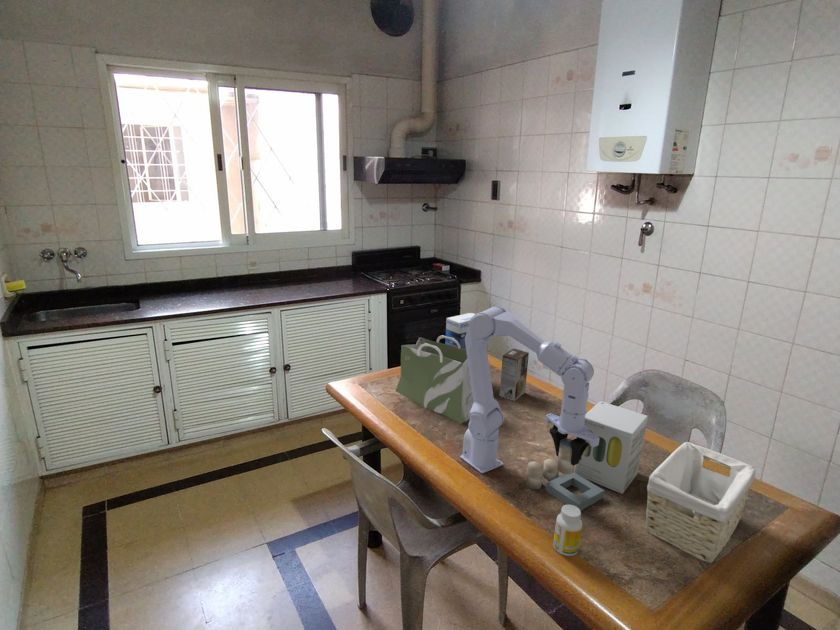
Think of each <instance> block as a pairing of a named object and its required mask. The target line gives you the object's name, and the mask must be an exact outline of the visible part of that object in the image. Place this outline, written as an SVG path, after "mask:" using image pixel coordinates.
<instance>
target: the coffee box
mask: <svg viewBox="0 0 840 630" xmlns="http://www.w3.org/2000/svg"><path fill="white" fill-rule="evenodd" d="M528 364H529V351H528V352H527V351H523V350H521V349H517V348H512V349H510V350H508V351H507V352H506V353H504V354H502V363H501V374H500V387H499V394H498V395H499V397H500V396H501V397H500V398H503V397H504V398H503V399H506V398H507V399H506V400H509V399H510V400H509V401H512V400H513V401H512V402H516V401H517V400H519V398H521V395H522V394H523V395H525V393H526V389H527V388H526V386H527V375H528V366H529V365H528ZM523 395H522V396H523ZM515 400H516V401H515Z"/></svg>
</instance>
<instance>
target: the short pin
mask: <svg viewBox="0 0 840 630" xmlns="http://www.w3.org/2000/svg"><path fill="white" fill-rule="evenodd" d="M557 464H558V460H555V459H552V458H548V459H545V460H544V461H543V466H544V470H543V478H544V479H545V480H547V481H549V482H550V481H552V480H554V479H556V478H558V477H559V473H560V472H559V471H558V470H557Z"/></svg>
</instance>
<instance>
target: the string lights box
mask: <svg viewBox="0 0 840 630" xmlns="http://www.w3.org/2000/svg"><path fill="white" fill-rule="evenodd" d="M475 314H476V313H473V312H467V313H463V314H459V315H454V316H450V317H446V321H445V323H446V325H445V336H446V337H451V338H454V339H455V340H456V341H458V343H459V345H460V347H461V348H463V349H466V345H465V336H466V333H467V330H468V327H469V324H468V321H469V320H470V319H471V318H472V317H473V316H474V315H475ZM444 344H446V345H450V346H454V347H458V346H457V344H456V343H455V342H454V341H452V340H450V339H447V338H445V343H444Z"/></svg>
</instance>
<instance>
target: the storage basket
mask: <svg viewBox="0 0 840 630" xmlns="http://www.w3.org/2000/svg"><path fill="white" fill-rule="evenodd" d="M704 460H706V461H710V463H714V464H717V465H718V466H719V465H720V466H721V467H725V468H726V469H730V470H729V475H724V474H721V473H718V472H716V471H713V470H711V469H707V468H705V467H703V463H704ZM756 471H757V470H756V468H755V467H754V465H752V464H748V463H745V462H744V461H741V460H738V459H737V458H733V457H731V456H729V455H726V454H723V453H720V452H717V451H715V450H713V449H709V448H707V447H704V446H701V445H697V444H695V443H692V442H689V441H686V442H683V443H682V444H680V445H679V446H678V447H677V448H676V449H675V450H674V451H673V452H672V453H671V454H669V456H668V457H667V458H666V459H665V460H664V461H663V462H662V463H660V464H659V466H658V467H656V468H655V469H654V471H653V472H652V473H651V474H650V475H649V477H648V482H647V488H646V490H647V501H646V503H647V504H646V513H645V515H646V516H645V517H646V521H645V530H646V532H648V533H649V534H651V535H652V536H654V537H656V538H659V539H660V540H662V541H663V542H666V543H669V544H670V545H671V546H673V547H675V548H677V549H679V550H681V551H683V552H684V553H687V554H689V555H691V556H693V557H694V558H695V559H698V560H700V561H704V562H706V563H708V564H712V563H713V562H714V560H715V559H717V557H718V556H719V554H720V553H721V552H722V550H723V548H724V547H726V546H727V543H728V542H729V540H730V539H731V536H732V535H733V533H734V531H735V530H736V529H737V526H738V524H739V523H740V520H741V519H742V515H743V510H744V508H745V505H746V501H747V499H748V497H749V496H748V494H749V492H750V489H751V488H752V485H753V482H754V481H755V478H756Z"/></svg>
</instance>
